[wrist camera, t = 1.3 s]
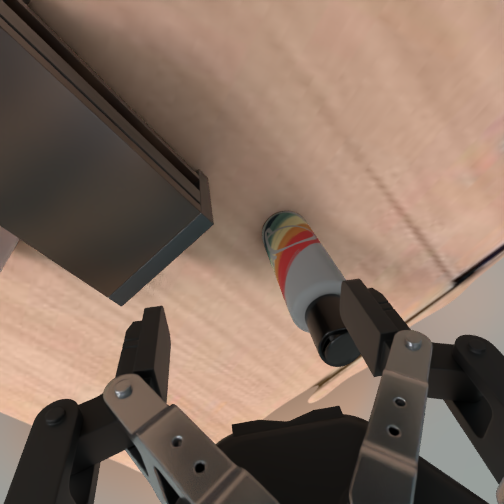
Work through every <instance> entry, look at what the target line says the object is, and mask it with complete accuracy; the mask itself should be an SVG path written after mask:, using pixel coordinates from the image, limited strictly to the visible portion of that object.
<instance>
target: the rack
mask: <svg viewBox="0 0 504 504" xmlns="http://www.w3.org/2000/svg"><path fill="white" fill-rule="evenodd" d="M29 1H30V0H0V226H1V227H2V228H4V229H5V230H7V231H8V232H10V233H11V234H13V235H14V236H16V237H17V238H19V239H21V240H22V241H24V242H25V243H27V244H28V245H30V246H31V247H33V248H34V249H36V250H37V251H39V252H40V253H42V254H43V255H45V256H46V257H48V258H49V259H51V260H52V261H54V262H55V263H57V264H58V265H60V266H61V267H63V268H64V269H66V270H67V271H69V272H70V273H72V274H73V275H75V276H76V277H78V278H79V279H81V280H82V281H84V282H85V283H87V284H88V285H90V286H91V287H93V288H94V289H96V290H97V291H99V292H100V293H102V294H103V295H105V296H106V297H108V298H109V299H111V300H112V301H114V302H115V303H117V304H118V305H120V306H123V305H124V304H125V303H126V302H127V301H128V300H129V299H131V298H132V297H133V296H134V295H135V294H136V293H137V292H138V291H140V290H141V289H142V288H143V287H144V286H145V285H146V284H147V283H149V282H150V281H151V280H152V279H153V278H154V277H155V276H156V275H158V274H159V273H160V272H161V271H162V270H163V269H164V268H165V267H166V266H168V265H169V264H170V263H171V262H172V261H173V260H174V259H175V258H177V257H178V256H179V255H180V254H181V253H182V252H183V251H184V250H186V249H187V248H188V247H189V246H190V245H191V244H192V243H193V242H195V241H196V240H197V239H198V238H199V237H200V236H201V235H202V234H203V233H205V232H206V231H207V230H208V229H209V228H210V227H211V226H212V225H213V224H214V223H213V215H212V207H211V199H210V191H209V183H208V178H207V177H206V176H205V175H204V174H203V173H202V172H201V171H200V170H198V171H197V172H195V171H194V170H193V169H192V168H191V167H190V166H189V165H188V164H187V163H186V162H185V161H184V160H183V159H182V158H181V157H180V156H179V155H178V154H177V153H175V152H174V151H173V150H172V149H171V148H170V147H169V146H168V145H167V144H166V143H165V142H164V141H163V140H162V139H161V138H160V137H159V136H158V135H157V134H156V133H155V132H154V131H153V130H152V129H151V128H150V127H149V126H148V125H147V124H146V123H145V122H144V121H143V120H142V119H141V118H140V117H139V116H138V115H137V114H136V113H135V112H134V111H133V110H132V109H131V108H130V107H129V106H128V105H127V104H126V103H125V102H124V101H123V100H122V99H121V98H120V97H119V96H118V95H117V94H116V93H115V92H114V91H113V90H112V89H111V88H110V87H109V86H108V85H107V84H106V83H105V82H104V81H103V80H102V79H101V78H100V77H99V76H98V75H97V74H96V73H95V72H94V71H93V70H92V69H91V68H90V67H89V66H88V65H87V64H86V63H85V62H84V61H83V60H82V59H81V58H80V57H79V56H78V55H77V54H76V53H75V52H74V51H73V50H72V49H70V48H69V47H68V46H67V45H66V44H65V43H64V42H63V41H62V40H61V39H60V38H59V37H58V36H57V35H56V34H55V33H54V32H53V31H52V30H51V29H50V28H49V27H48V26H47V25H46V24H45V23H44V22H43V21H42V20H41V19H40V18H39V17H38V16H37V15H36V14H35V13H34V12H33V11H32V10H31V9H30V8H29V7H28V6H27V4H28V3H29Z"/></svg>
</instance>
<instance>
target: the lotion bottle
mask: <svg viewBox="0 0 504 504" xmlns="http://www.w3.org/2000/svg"><path fill="white" fill-rule="evenodd" d="M262 240H263V243H264V246H265V249H266V252H267V254H268V257H269V260H270V262H271V265H272V268H273V270H274V273H275V275H276V278H277V281H278V283H279V286H280V289H281V291H282V294H283V297H284V299H285V302H286V305H287V307H288V310H289V312H290V315H291V317H292V319H293V321H294V323H295V324H296V325H297V326H298V327H299V328H300V329H301V330H303V331H306V332H309V333H310V334H311V337H312V339H313V341H314V344H315V346H316V348H317V351H318V353H319V355H320V357H321V359H322V360H323V361H324V362H325V363H326V364H328V365H330V366H334V367H341V366H345V365H347V364H349V363H351V362H353V361H354V360H355V359H356V358H357V357H358V356H359V355H360V354H361V353H360V351H359V350H358V348H357V346H356V344H355V343H354V341H353V339H352V337H351V336H350V334H349V332H348V330H347V329H346V327H345V325H344V323H343V321H342V319H341V316H340V295H341V284H342V281H346V279H345V278H344V276H343V275H342V273H341V272H340V270H339V269H338V267H337V266H336V264H335V263H334V262H333V260H332V259H331V257H330V256H329V254H328V253H327V251H326V250H325V248H324V247H323V246H322V244H321V243H320V241H319V240H318V238H317V237H316V235H315V234H314V232H313V231H312V229H311V228H310V227H309V225H308V224H307V222H306V221H305V220H304V219H303V218H302V217H301V216H300V215H299V214H297V213H295V212H291V211H282V212H278V213H276V214H274V215H272V216H271V217H270V218H269V219H268V220H267V221H266V223H265V224H264V226H263V230H262Z"/></svg>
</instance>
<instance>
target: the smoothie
mask: <svg viewBox="0 0 504 504" xmlns="http://www.w3.org/2000/svg"><path fill="white" fill-rule="evenodd" d="M18 241H19V238H17V237H16V236H14V235H13V234H11V233H10V232H8V231H7V230H5V229H4V228H2V227H1V226H0V272H1V271H2V269H3V267H4V265H5V264H6V262H7V260H8V259H9V257H10V255H11V253H12V252H13V250H14V248H15V246H16V245H17V243H18Z"/></svg>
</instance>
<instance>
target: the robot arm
mask: <svg viewBox="0 0 504 504" xmlns="http://www.w3.org/2000/svg"><path fill="white" fill-rule="evenodd" d="M340 316H341V319H342V321H343V323H344V325H345V327H346V329H347V330H348V332H349V334H350V336H351V337H352V339H353V341H354V343H355V344H356V346H357V348H358V350H359V351H360V353H361V355H362V357H363V359H364V360H365V362H366V364H367V366H368V367H369V369H370V371H371V373H372V374H373V376H374V377H377V376H382V377H381V380H380V384H379V387H378V391H377V394H376V398H375V402H374V405H373V409H372V412H371V416H370V419H369V422H368V421H366V420H364V419H361V418H359V417H355V416H351V415H344V414H342V411H341V409H340V406H335V407H329V408H324V409H318V410H313V411H311V412H309V413H306V414H304V415H302V416H300V417H297V418H295V419H293V420H291V421H287V422H284V421H268V420H255V421H250V422H244V423H238V424H233V425H232V431H233V434H231V435H229V436H227V437H225V438H223V439H222V440H221V441H219V442H218V443H217V444H215V443H214V442H213V441H212V440H211V439H210V438H209V437H208V436H207V435H206V434H205V433H204V432H203V431H202V430H201V429H200V428H199V427H198V426H197V425H196V424H195V423H194V422H193V421H192V420H191V419H190V418H189V417H188V416H187V415H186V414H185V413H184V412H183V411H182V410H181V409H180V408H179V407H177V406H176V405H175V404H172V405H171V406H169V405H167V404H166V403H167V390H168V376H169V363H170V349H171V341H170V333H169V329H168V325H167V320H166V316H165V312H164V308H163V306H157V307H150V308H145V309H144V314H143V319H142V321H135V322H133V323H132V324H131V326H130V327H129V328H128V329H127V331H126V335H125V339H124V343H123V347H122V348H123V350H122V352H121V356H120V360H119V364H118V368H117V372H116V377H115V378H114V379H113V380H112V381H111V382H109V383H108V385H107V386H106V387H105V389H104V392H103V394H101V395H100V396H98V397H96V398H94V399H91V400H89V401H87V402H84V403H82V404H79V405H78V404H77V403H76V402H75V401H74V400H71V399H61V400H58V401H55V402H53V403H51V404H49V405H48V406H46V407H45V408H44V409H43V410H42V411H40V413H39V414H38V415H37V417H36V418H35V420H34V423H33V425H32V428H31V431H30V434H29V436H28V439H27V442H26V444H25V447H24V450H23V453H22V455H21V458H20V461H19V464H18V466H17V469H16V472H15V475H14V478H13V480H12V483H11V485H10V488H9V491H8V494H7V497H6V499H5V502H4V504H94V498H95V492H96V486H97V480H98V474H99V468H100V462H101V461H103V460H105V459H107V458H109V457H111V456H113V455H115V454H117V453H119V452H121V451H123V450H125V451H126V452H127V453H128V455H129V456H130V457H131V459H132V460H133V461H134V463H135V464H136V465H137V467H138V468H139V469H140V471H141V472H142V474H143V475H144V476H145V477H146V479H147V480H148V482H149V483H150V484H151V486H152V488H153V490H154V491H155V493H156V495H157V497H158V498H159V500H160V502H161V503H162V504H489V503H487V502H486V501H485V500H483V499H481V498H480V497H479V496H477V495H476V494H474V493H473V492H471V491H470V490H468V489H467V488H465V487H464V486H463V485H461V484H460V483H458V482H457V481H455V480H454V479H452V478H451V477H450V476H448V475H446V474H445V473H443V472H442V471H441V470H439V469H438V468H436V467H435V466H433V465H432V464H430V463H429V462H428V461H426V460H425V459H423V458H422V457H420V456H419V451H420V443H421V437H422V430H423V423H424V416H425V408H426V401H427V397H428V398H436V399H443V400H444V401H445V403H446V404H447V406H448V408H449V409H450V411H451V412H452V414H453V415H454V417H455V418H456V420H457V421H458V423H459V424H460V426H461V427H462V429H463V430H464V432H465V433H466V435H467V437H468V438H469V440H470V441H471V443H472V444H473V445H474V447H475V449H476V450H477V452H478V453H479V455H480V456H481V458H482V459H483V461H484V462H485V464H486V466H487V467H488V469H489V470H490V472H491V473H492V475H493V476H494V478H495V479H496V481H497V482H498V484H499V486H498V488H497V491H496V498H497V502H498V504H504V356H503V355H502V354H501V352H500V351H499V350H498V349H497V348H496V347H495V346H494V345H493V344H492V343H490V342H489V341H487V340H486V339H483V338H481V337H478V336H473V335H462V336H460V337H458V338H457V339H456V341H455V344H454V345H451V344H440V343H433V342H431V340H430V339H429V338H428V337H427V336H425V335H424V334H422V333H420V332H418V331H414V330H411V329H410V328H409V327H408V326H407V324H406V323H405V322H404V321H403V319H402V318H401V317H400V316H399V314H398V313H397V312H396V311H395V309H393V307H392V306H391V304H390V303H388V301H387V299H386V298H385V297H384V296H383V294H381V293H380V292H378V291H377V290H375V289H373V288H368V289H367V287H366V286H365V285H364V283H363V282H362V281H361V280H360V279H353V280H346V281H342V284H341V295H340Z"/></svg>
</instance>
